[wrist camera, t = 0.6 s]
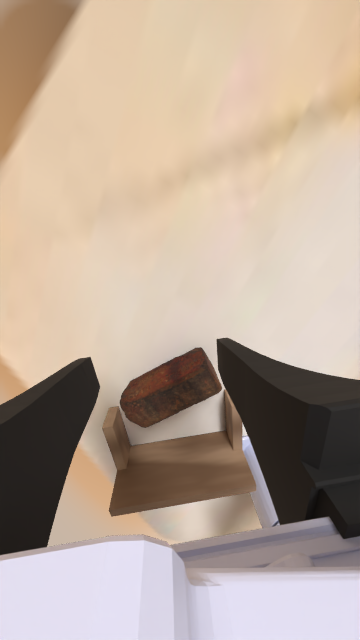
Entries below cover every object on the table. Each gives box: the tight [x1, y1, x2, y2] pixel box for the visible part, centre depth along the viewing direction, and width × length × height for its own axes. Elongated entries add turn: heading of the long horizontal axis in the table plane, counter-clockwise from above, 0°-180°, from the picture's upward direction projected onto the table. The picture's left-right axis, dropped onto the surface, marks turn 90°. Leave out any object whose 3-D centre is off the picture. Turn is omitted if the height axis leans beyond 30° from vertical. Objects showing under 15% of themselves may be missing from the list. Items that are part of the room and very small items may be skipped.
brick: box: [120, 348, 222, 428], centre depth 22 cm, size 11×4×5 cm, turn 119°
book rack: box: [102, 390, 256, 516], centre depth 23 cm, size 9×16×7 cm, turn 97°
